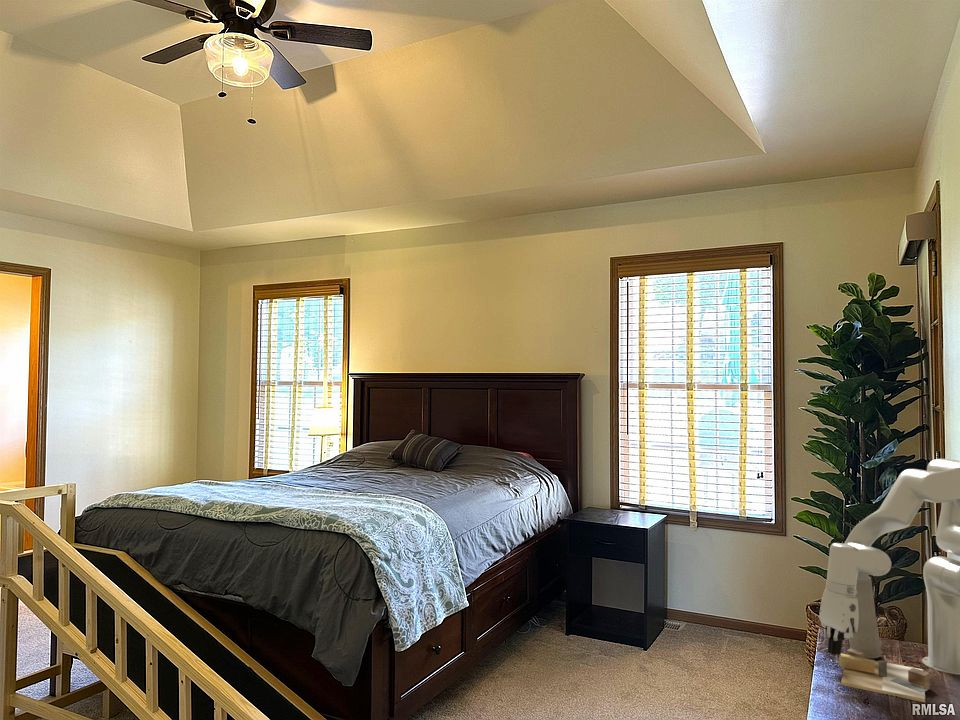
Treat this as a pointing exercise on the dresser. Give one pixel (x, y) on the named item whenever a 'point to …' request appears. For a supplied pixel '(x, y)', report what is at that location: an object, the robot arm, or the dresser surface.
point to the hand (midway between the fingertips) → (834, 653)
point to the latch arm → (856, 663)
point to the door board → (888, 679)
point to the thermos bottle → (866, 620)
